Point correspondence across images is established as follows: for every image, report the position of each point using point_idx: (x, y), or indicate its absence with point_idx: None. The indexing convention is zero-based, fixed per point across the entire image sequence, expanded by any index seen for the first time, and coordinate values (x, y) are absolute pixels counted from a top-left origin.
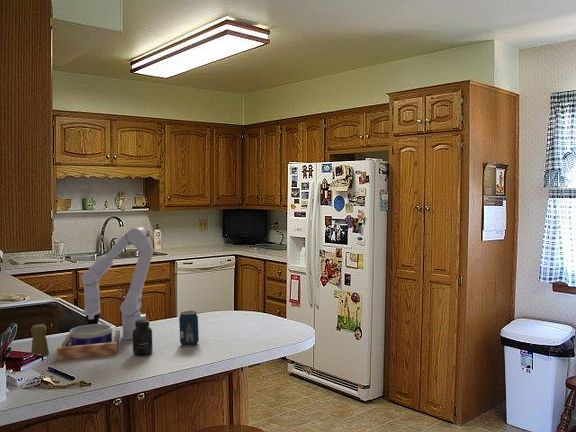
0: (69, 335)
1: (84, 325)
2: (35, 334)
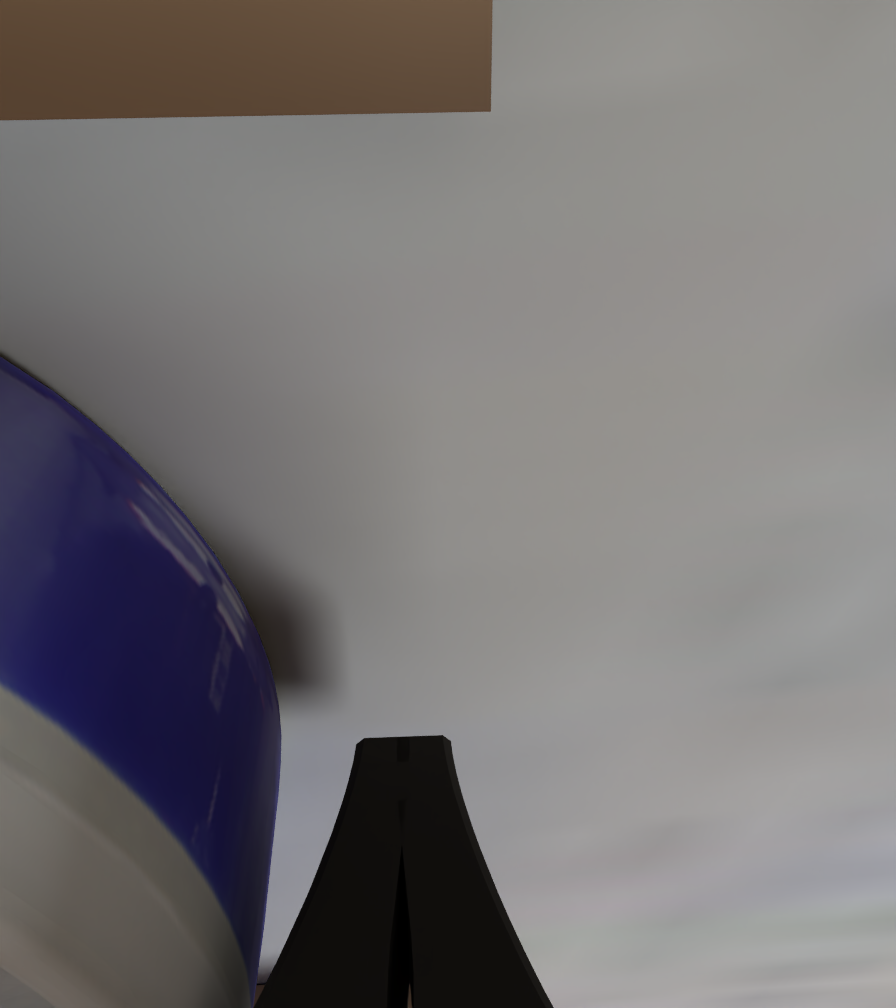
0: (274, 49)
1: (25, 975)
2: None
